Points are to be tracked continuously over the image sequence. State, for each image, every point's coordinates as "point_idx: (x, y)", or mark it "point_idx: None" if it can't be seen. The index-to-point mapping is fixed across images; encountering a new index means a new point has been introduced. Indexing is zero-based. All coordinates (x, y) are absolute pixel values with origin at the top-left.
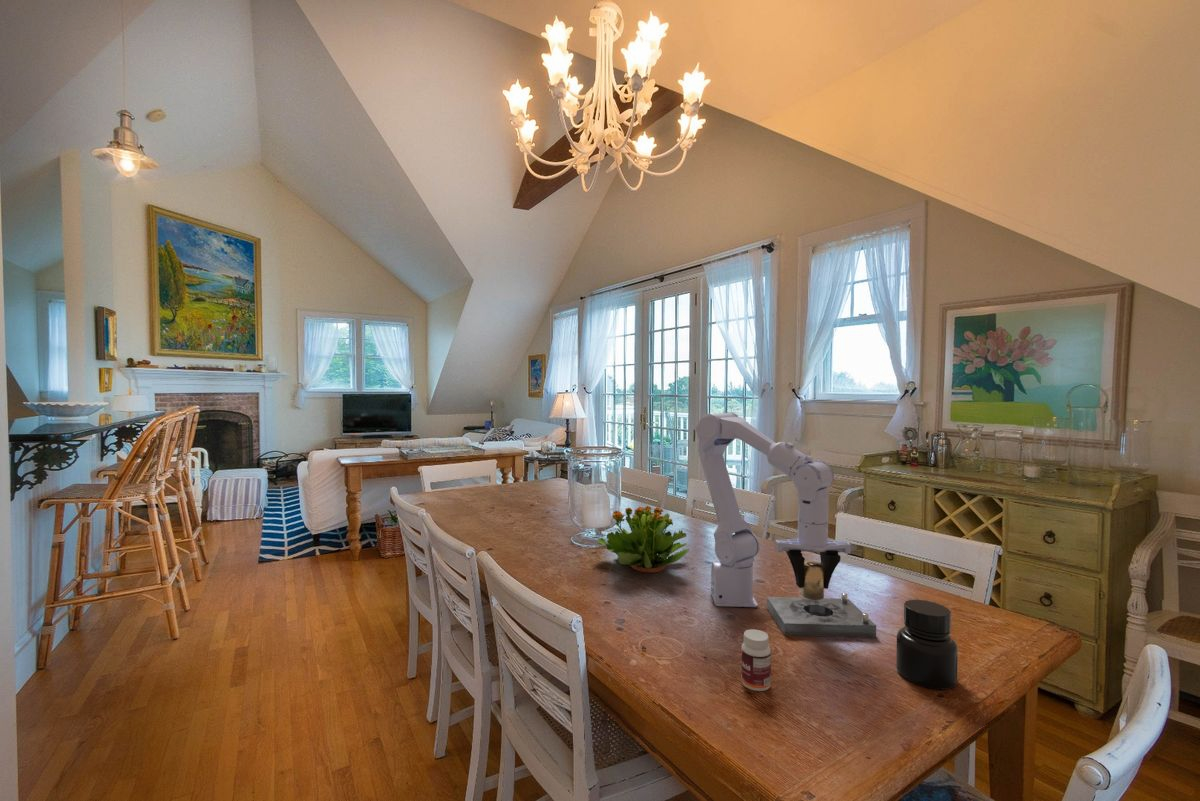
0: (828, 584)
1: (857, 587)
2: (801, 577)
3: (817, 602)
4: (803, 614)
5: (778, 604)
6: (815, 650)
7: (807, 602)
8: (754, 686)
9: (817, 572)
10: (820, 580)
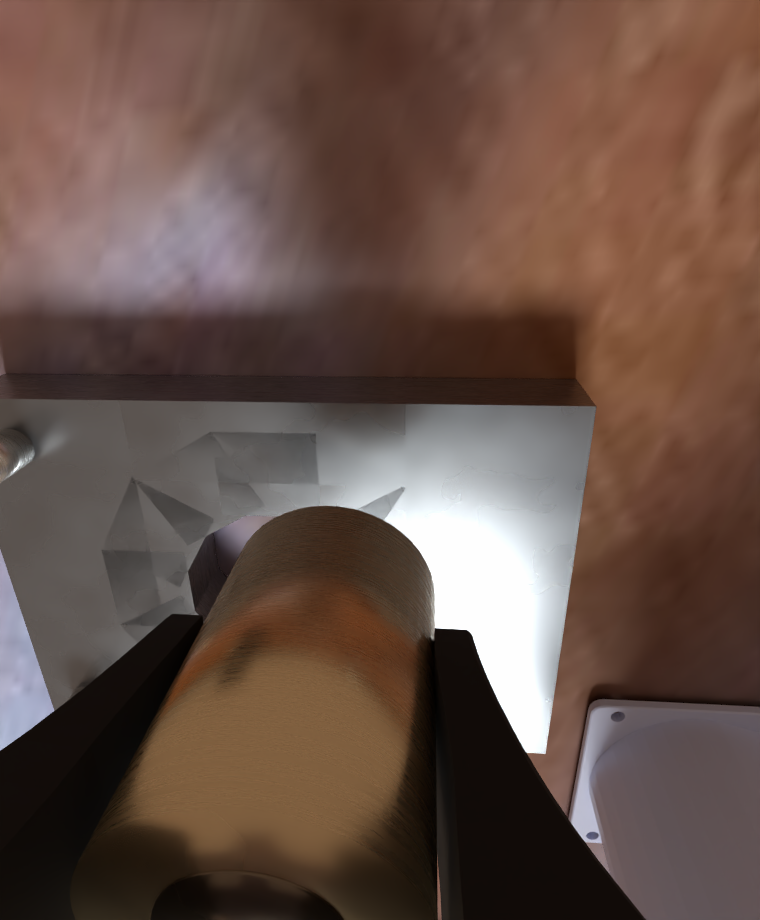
0: (144, 637)
1: None
2: (467, 711)
3: None
4: None
5: (514, 665)
6: (444, 168)
7: None
8: None
9: (238, 735)
10: (228, 645)
